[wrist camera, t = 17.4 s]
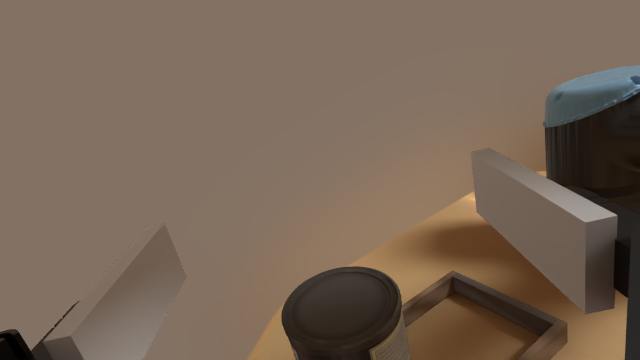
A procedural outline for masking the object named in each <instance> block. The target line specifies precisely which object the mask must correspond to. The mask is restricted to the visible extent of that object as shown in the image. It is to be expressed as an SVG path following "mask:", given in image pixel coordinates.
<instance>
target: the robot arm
mask: <svg viewBox="0 0 640 360" xmlns="http://www.w3.org/2000/svg"><path fill="white" fill-rule="evenodd" d="M543 126H544V127H545V141H546V142H545V145H546V173H547V178H546V177H544V176H542V175H540V174H538V173H536V172H534V171H532V170H530V169H529V168H527V167H525V166H523V165H521V164H519V163H517V162H515V161H513V160H511V159H510V158H508V157H506V156H504V155H502V154H500V153H498V152H496V151H494V150H492V149H491V148H486V149H482V150H478V151H473V152H471V158H472V170H473V178H474V189H475V199H476V209H477V213H478V214H479V215H480V216H482V217H483V218H484V219H485V220H486V221H487V222H488V223H489V224H490V225H491V226H492V227H493V228H494V229H495V230H496V231H497V232H498V233H500V234H501V235H502V236H503V237H504V238H505V239H506V240H507V241H508V242H509V243H510V244H511V245H512V246H513V247H514V248H515V249H517V250H518V251H519V252H520V253H521V254H522V255H523V256H524V257H525V258H526V259H527V260H528V261H529V262H530V263H531V264H532V265H533V266H535V267H536V268H537V269H538V270H539V271H540V272H541V273H542V274H543V275H544V276H545V277H546V278H547V279H548V280H549V281H550V282H551V283H553V284H554V285H555V286H556V287H557V288H558V289H559V290H560V291H561V292H562V293H563V294H564V295H565V296H566V297H567V298H568V299H569V300H571V301H572V302H573V303H574V304H575V305H576V306H577V307H578V308H579V309H580V310H581V311H582V312H583V313H584V314H588V313H593V312H598V311H603V310H608V309H612V308H614V300H615V289H616V290H618V291H619V292H620V293H622V294H623V295H624V296H626V297H627V298H628V307H627V326H626V348H625V360H640V65H637V66H626V67H620V68H615V69H609V70H605V71H601V72H597V73H593V74H589V75H585V76H582V77H579V78H576V79H573V80H570V81H567V82H565V83H563V84H561V85H559V86H557V87H555V88H554V89H553V90H552V91H551V92H550V93H549V94H548V96H547V98H546V101H545V120H544V122H543ZM185 279H186V274H185V272H184V269H183V267H182V265H181V262H180V260H179V257H178V255H177V252H176V250H175V247H174V245H173V243H172V240H171V238H170V235H169V233H168V230H167V228H166V226H165V223H161V224H157V225H153V226H148V227H147V228H146V229H145V230H144V231H143V232H142V233H141V234H140V235H139V236H138V237H137V238H136V240H135V241H134V242H133V243H132V244H131V245H130V246H129V247H128V248H127V249H126V251H125V252H124V253H123V254H122V255H121V256H120V257H119V259H117V261H116V262H115V263H114V264H113V265H112V266H111V267H110V268H109V269H108V270H107V271H106V273H105V274H104V275H103V276H102V277H101V278H100V279H99V280H98V281H97V282H96V284H95V285H94V286H93V287H92V288H91V289H90V290H89V291H88V292H87V293H86V294H85V296H84V297H83V298H82V299H81V300H80V301H78V302H77V303H76V304H74V305H73V306H72V307H71V308H70V309H69V310H68V311H67V313H66V314H65V315H64V316H63V318H62V319H60V320H59V321H58V322H57V323H56V324H55V327H54V328H52V329H51V330H50V331H49V332H48V333H47V334H46V335H45V336H44V338H43V339H42V340H41V341H40V342H39V343H38V344H37V345H36V346H35V347H34V348H33V349H32V351H30V349H29V348H28V346H27V345H26V343H25V341H24V340H23V338H22V337H21V335H20V333H19V332H18V331H17V330H16V329H15V330H14V329H12V330H11V329H10V330H6V331H2V332H0V360H143V358H144V356H145V354H146V352H147V350H148V348H149V346H150V345H151V343H152V341H153V339H154V337H155V335H156V334H157V331H158V330H159V328H160V326H161V324H162V322H163V320H164V319H165V317H166V315H167V313H168V311H169V309H170V307H171V305H172V304H173V302H174V299H175V298H176V296H177V294H178V292H179V290H180V289H181V286H182V285H183V283H184V281H185Z"/></svg>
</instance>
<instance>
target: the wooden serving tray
mask: <svg viewBox="0 0 640 360" xmlns="http://www.w3.org/2000/svg"><path fill="white" fill-rule="evenodd" d="M453 292H456V293H458V294H460V295H462V296H464V297H466V298H468V299H470V300H472V301H474V302H476V303H478V304H480V305H482V306H483V307H485V308H487V309H489V310H491V311H493V312H495V313H497V314H499V315H501V316H503V317H505V318H507V319H509V320H511V321H513V322H515V323H516V324H518V325H520V326H522V327H524V328H526V329H528V330H530V331H532V332H534V333H536V334H538V335H540V336H541V337H540V338H539V339H538V340H537V341H536V342H535V343H534V344H533V345H532V346H531V347H530V348H528V349H527V350H526V351H525V352H524V353H523V354H522V355H521V356H520V357H519V358H518V359H517V360H550V359H551V358H552V357H553V356H554V355H555V354H556V353H557V352H558V351H559V350H560V349H561V348H562V347H563V346H564V345H565V344H566V343H567V323H566V322H564V321H561V320H559V319H557V318H555V317H553V316H550V315H548V314H546V313H544V312H542V311H540V310H537V309H535V308H533V307H531V306H529V305H527V304H524V303H522V302H520V301H518V300H516V299H513V298H511V297H509V296H507V295H505V294H503V293H500V292H498V291H496V290H494V289H492V288H489V287H487V286H485V285H483V284H481V283H479V282H476V281H474V280H472V279H470V278H468V277H466V276H463V275H461V274H459V273H457V272H455V271H451V272H450V273H448V274H447V275H445V276H444V277H443V278H441V279H440V280H438V281H437V282H435V283H434V284H432V285H431V286H429V287H428V288H427V289H425V290H424V291H422V292H421V293H419V294H418V295H416V296H415V297H414V298H412V299H411V300H409V301H408V302H406V303H405V304H403V305H402V313H403V319H404V324H405V327H407V326H408V325H409V324H411V323H412V322H414V321H415V320H416V319H418V318H419V317H420V316H422V315H423V314H424V313H426V312H427V311H429V310H430V309H431V308H433V307H434V306H435V305H437V304H438V303H440V302H441V301H442V300H444V299H445V298H446V297H448V296H449V295H450V294H452V293H453Z"/></svg>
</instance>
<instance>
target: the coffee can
mask: <svg viewBox="0 0 640 360" xmlns="http://www.w3.org/2000/svg"><path fill="white" fill-rule="evenodd" d="M282 325H283V327H284V330H285V333H286V335H287V336H288V338H289V341H290V344H291V347H292V350H293V353H294V356H295V359H296V360H411V357H410V351H409V346H408V341H407V335H406V330H405V324H404V319H403V313H402V301H401V294H400V290H399V288H398V286H397V284H396V283H395V282H394V281H393V280H392V279H391V278H390V277H389V276H388V275H386V274H384V273H383V272H380V271H378V270H375V269H371V268H366V267H342V268H336V269H332V270H328V271H325V272H322V273H320V274H318V275H315V276H314V277H312V278H310V279H308V280H306V281H305V282H303V283H302V284H301V285H299V286H298V287H297V288H296V289H295V290H294V291H293V292H292V293H291V295H290V296H289V297H288V299H287V301H286V302H285V304H284V307H283V310H282Z"/></svg>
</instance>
